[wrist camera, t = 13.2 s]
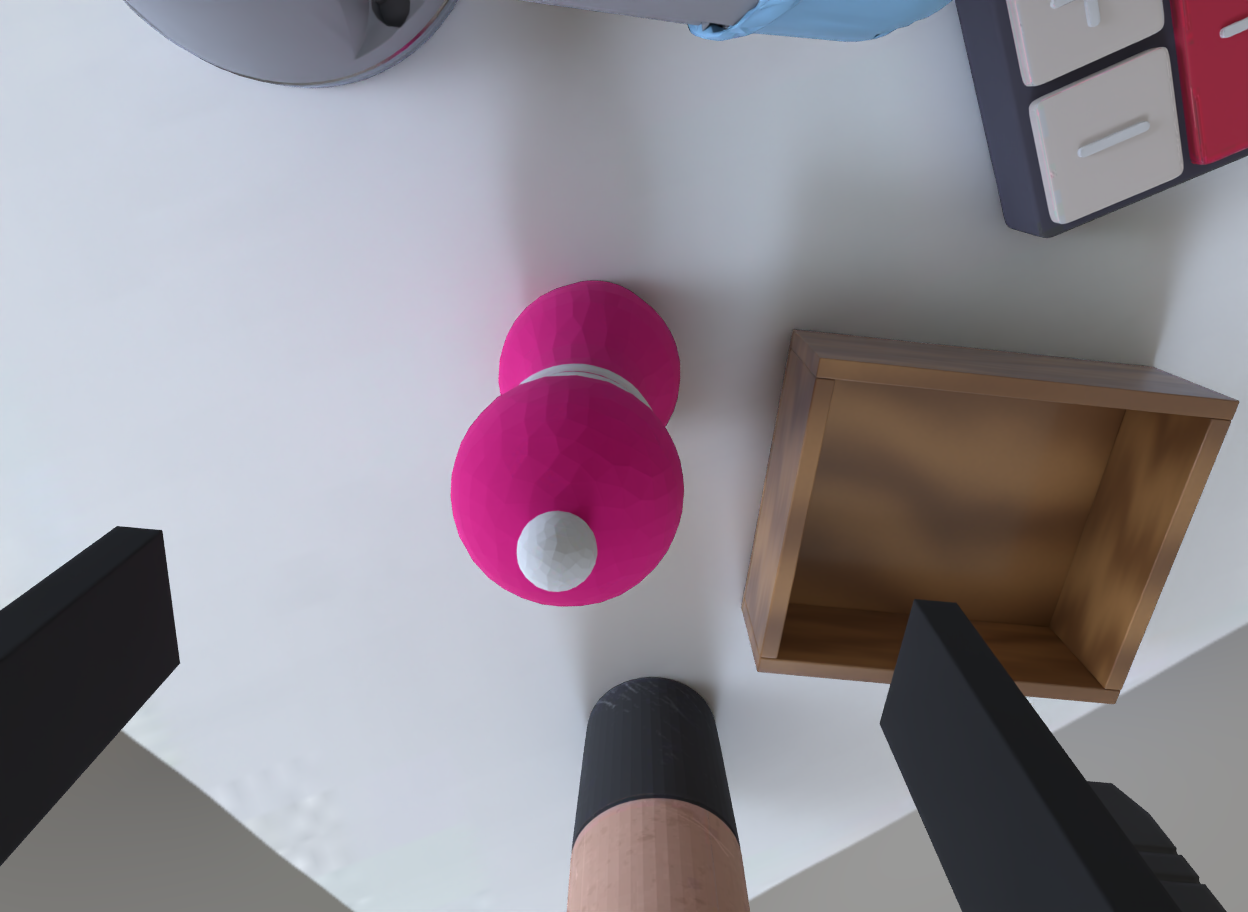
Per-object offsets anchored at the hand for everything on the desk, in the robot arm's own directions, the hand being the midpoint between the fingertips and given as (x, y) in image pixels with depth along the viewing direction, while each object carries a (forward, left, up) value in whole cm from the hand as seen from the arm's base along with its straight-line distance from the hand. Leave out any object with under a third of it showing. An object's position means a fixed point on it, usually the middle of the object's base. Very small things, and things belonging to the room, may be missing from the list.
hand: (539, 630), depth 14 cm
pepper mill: (0, 0, -23) cm, 23 cm away
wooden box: (+6, +17, -23) cm, 29 cm away
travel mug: (+21, +5, -23) cm, 32 cm away
